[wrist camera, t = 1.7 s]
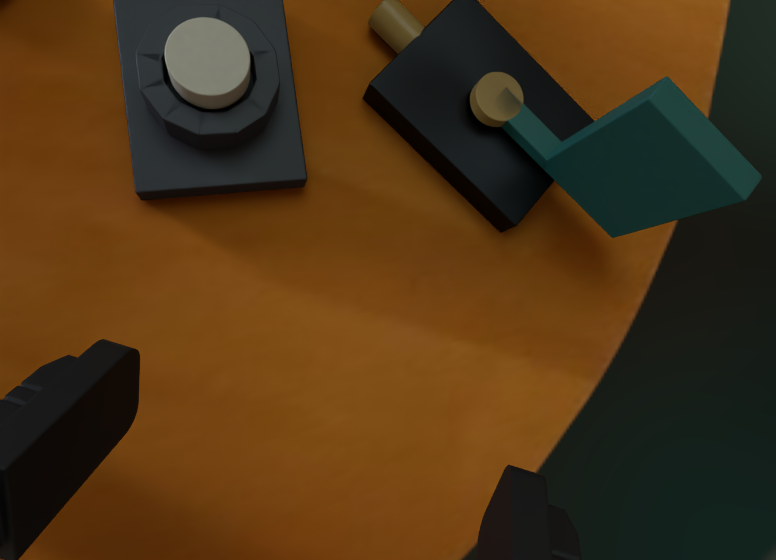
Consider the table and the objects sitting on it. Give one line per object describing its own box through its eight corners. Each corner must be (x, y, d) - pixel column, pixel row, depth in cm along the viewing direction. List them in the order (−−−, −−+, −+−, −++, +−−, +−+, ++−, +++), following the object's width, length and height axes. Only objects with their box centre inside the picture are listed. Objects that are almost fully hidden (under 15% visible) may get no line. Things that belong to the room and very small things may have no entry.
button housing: (118, 8, 33) (101, -36, 29) (280, 8, 35) (284, -34, 31) (140, 200, 32) (126, 181, 28) (304, 187, 34) (312, 167, 30)
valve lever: (459, 101, 34) (542, 8, 25) (490, 68, 35) (583, -34, 25) (605, 246, 36) (738, 212, 26) (632, 212, 36) (771, 166, 27)
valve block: (327, 65, 35) (333, 47, 33) (421, -25, 37) (432, -47, 35) (500, 233, 37) (516, 226, 35) (580, 138, 39) (600, 126, 37)
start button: (164, 35, 30) (159, 16, 28) (244, 34, 31) (245, 16, 29) (173, 111, 29) (169, 97, 28) (254, 107, 30) (255, 93, 29)
